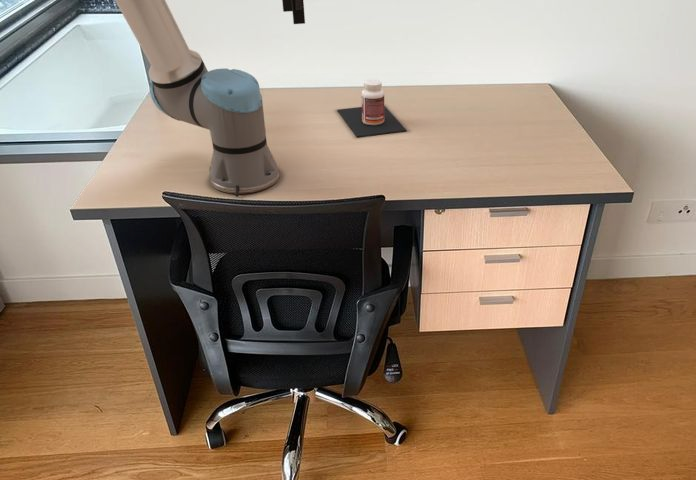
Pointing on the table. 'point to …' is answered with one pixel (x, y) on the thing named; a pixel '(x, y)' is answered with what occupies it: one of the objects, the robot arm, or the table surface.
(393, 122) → the mat
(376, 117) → the pill bottle
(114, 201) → the table surface
